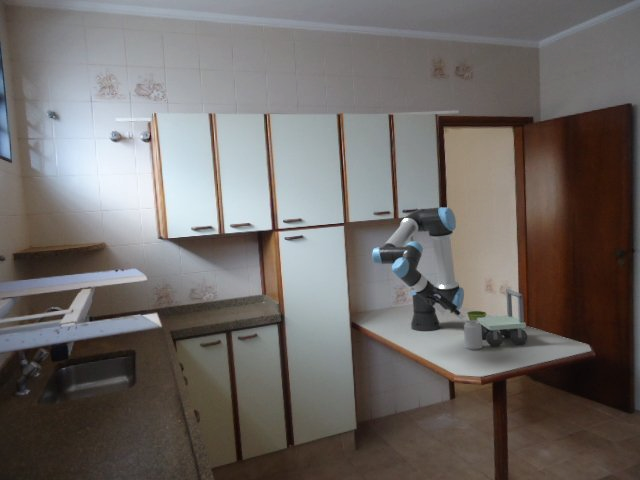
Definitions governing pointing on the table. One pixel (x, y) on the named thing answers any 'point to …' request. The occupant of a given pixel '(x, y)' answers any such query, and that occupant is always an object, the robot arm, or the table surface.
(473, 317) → the plant pot
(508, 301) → the trolley
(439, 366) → the table surface
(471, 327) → the can
